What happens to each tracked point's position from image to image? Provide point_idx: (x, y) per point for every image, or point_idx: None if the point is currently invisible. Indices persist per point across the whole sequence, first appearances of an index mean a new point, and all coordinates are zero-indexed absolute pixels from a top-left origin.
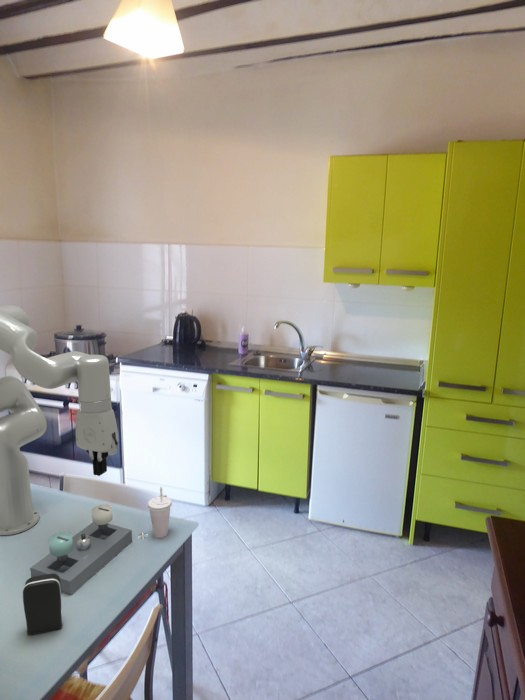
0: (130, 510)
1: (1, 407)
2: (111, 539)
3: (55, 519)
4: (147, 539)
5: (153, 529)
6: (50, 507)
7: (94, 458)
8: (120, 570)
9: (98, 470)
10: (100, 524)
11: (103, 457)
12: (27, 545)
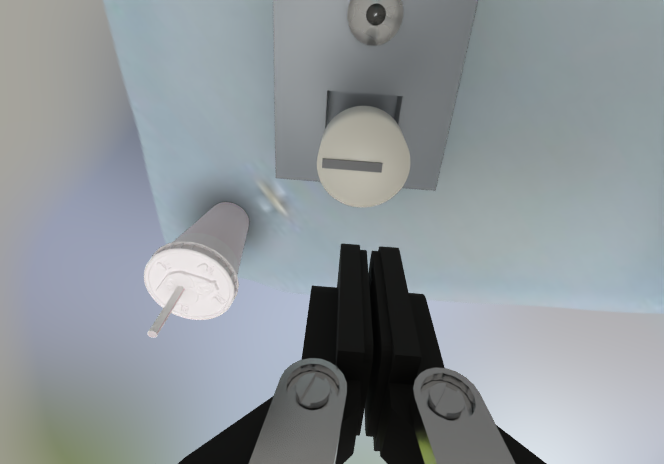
0: None
1: None
2: (304, 103)
3: (608, 187)
4: (247, 186)
5: (232, 214)
6: (659, 238)
7: (412, 394)
8: (214, 8)
9: (340, 276)
10: (344, 110)
11: (257, 423)
12: (648, 12)
